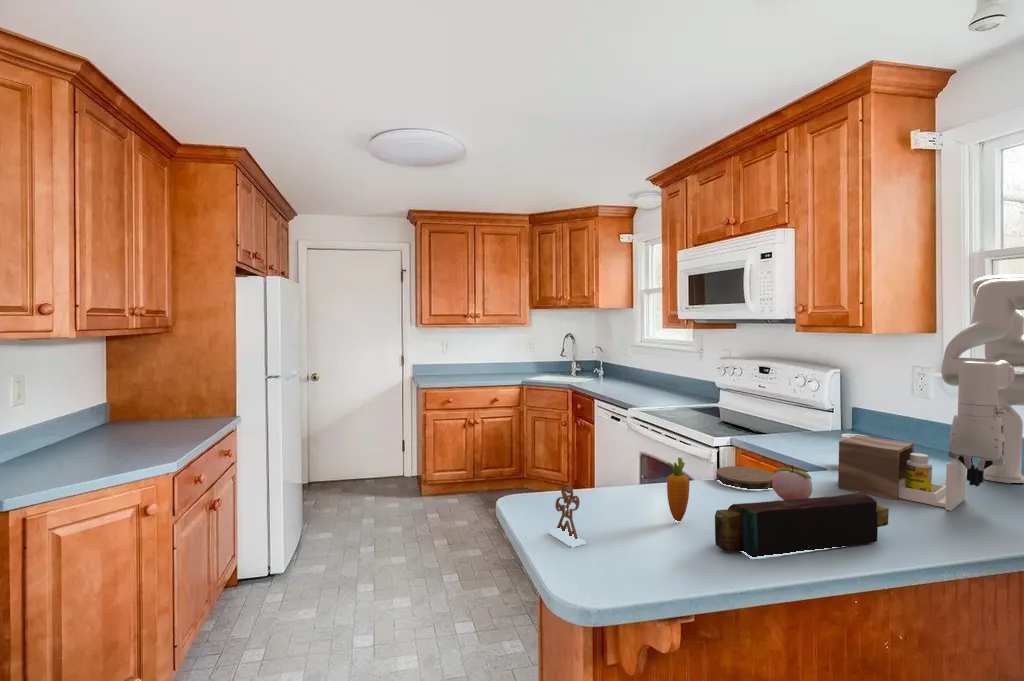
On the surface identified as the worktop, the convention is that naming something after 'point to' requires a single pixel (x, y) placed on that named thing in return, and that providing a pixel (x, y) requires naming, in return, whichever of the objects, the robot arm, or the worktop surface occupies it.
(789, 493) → the decorative fruit
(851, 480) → the cabinet
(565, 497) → the gingerbread man figurine
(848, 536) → the packaged item
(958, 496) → the drawer
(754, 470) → the brown round disc
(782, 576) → the worktop surface
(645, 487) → the worktop surface
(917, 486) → the supplement bottle
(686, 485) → the carrot
